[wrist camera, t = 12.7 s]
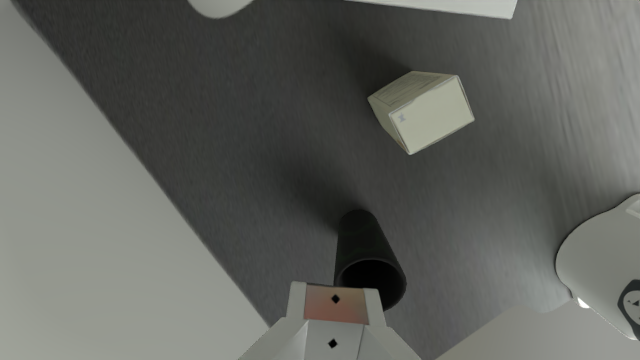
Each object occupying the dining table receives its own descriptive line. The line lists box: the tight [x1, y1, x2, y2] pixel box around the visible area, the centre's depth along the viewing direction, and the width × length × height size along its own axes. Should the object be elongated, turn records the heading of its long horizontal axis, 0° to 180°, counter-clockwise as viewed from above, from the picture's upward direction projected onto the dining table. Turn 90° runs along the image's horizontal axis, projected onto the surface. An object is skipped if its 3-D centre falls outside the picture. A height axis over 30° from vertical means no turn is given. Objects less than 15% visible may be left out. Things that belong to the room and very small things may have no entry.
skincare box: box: [367, 71, 474, 155], centre depth 31 cm, size 6×4×12 cm
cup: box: [333, 210, 407, 312], centre depth 38 cm, size 8×8×12 cm
